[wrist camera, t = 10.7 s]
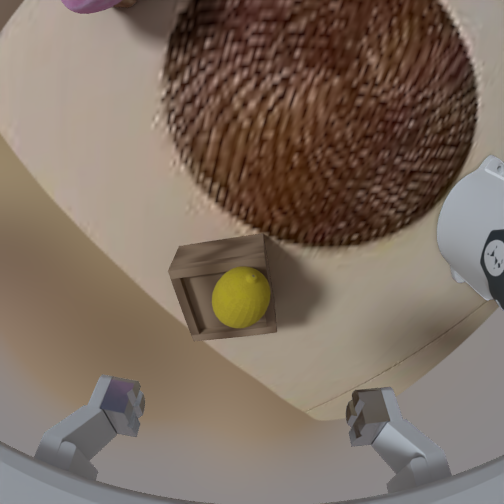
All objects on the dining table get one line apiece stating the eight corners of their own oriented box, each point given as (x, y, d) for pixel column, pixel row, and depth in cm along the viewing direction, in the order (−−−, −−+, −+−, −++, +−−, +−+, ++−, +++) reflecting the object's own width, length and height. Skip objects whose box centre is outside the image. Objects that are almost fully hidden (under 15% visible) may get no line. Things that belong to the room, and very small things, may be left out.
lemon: (262, 331, 34) (292, 295, 28) (216, 345, 31) (237, 309, 25) (242, 290, 36) (266, 247, 31) (197, 300, 34) (213, 256, 28)
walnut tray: (262, 231, 36) (264, 257, 31) (274, 301, 41) (277, 332, 36) (179, 244, 37) (168, 271, 32) (200, 310, 42) (193, 341, 36)
